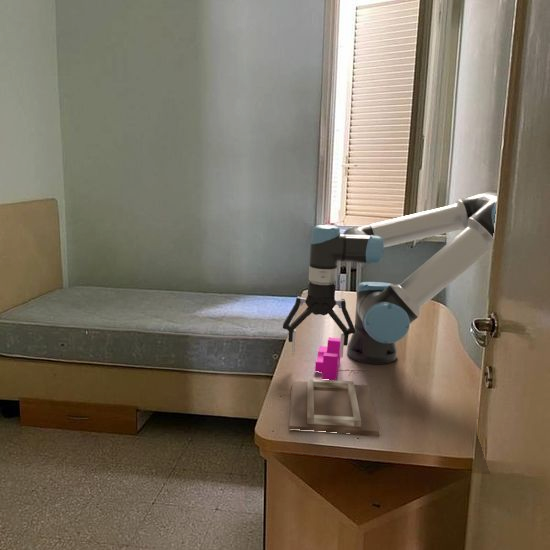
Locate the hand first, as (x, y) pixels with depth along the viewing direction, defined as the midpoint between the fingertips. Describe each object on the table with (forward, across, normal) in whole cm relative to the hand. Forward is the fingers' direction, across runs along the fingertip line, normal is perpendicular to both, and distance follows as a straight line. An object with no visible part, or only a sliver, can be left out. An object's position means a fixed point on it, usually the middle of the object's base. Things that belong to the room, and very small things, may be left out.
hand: (317, 354), depth 152 cm
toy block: (+5, +3, 0) cm, 6 cm away
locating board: (+5, +4, -23) cm, 24 cm away
